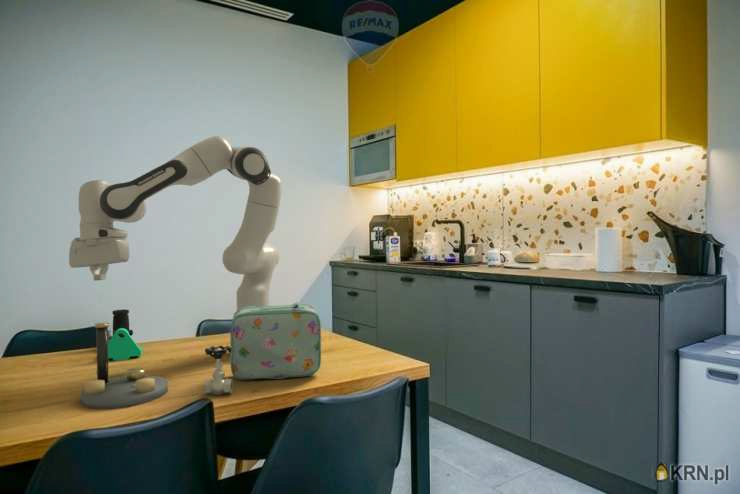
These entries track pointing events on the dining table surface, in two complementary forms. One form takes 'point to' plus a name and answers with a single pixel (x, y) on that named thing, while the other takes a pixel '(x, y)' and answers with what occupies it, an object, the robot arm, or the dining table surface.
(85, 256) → the robot arm
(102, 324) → the lever
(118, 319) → the scope
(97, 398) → the plate
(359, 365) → the dining table surface
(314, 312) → the lunch box
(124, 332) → the camera mount
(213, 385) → the valve
